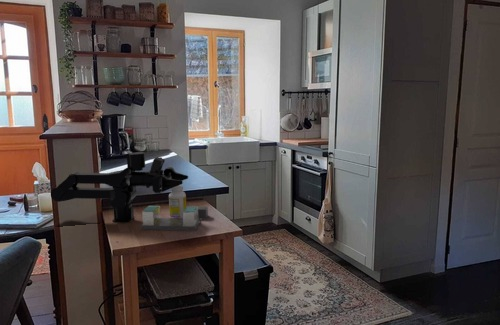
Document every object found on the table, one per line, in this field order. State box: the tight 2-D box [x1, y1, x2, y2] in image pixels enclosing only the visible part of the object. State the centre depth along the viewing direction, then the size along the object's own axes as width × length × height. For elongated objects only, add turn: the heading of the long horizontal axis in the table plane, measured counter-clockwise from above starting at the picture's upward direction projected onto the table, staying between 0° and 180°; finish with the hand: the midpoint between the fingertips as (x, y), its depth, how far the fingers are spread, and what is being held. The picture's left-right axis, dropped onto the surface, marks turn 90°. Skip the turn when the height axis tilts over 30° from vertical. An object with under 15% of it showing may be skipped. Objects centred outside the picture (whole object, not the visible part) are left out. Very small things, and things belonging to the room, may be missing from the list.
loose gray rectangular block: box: [194, 206, 209, 220], centre depth 154 cm, size 5×4×4 cm
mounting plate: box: [140, 205, 201, 232], centre depth 144 cm, size 20×9×7 cm, turn 86°
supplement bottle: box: [168, 184, 187, 218], centre depth 153 cm, size 7×7×13 cm
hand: (185, 179), depth 147 cm, fingers open, 9 cm apart
